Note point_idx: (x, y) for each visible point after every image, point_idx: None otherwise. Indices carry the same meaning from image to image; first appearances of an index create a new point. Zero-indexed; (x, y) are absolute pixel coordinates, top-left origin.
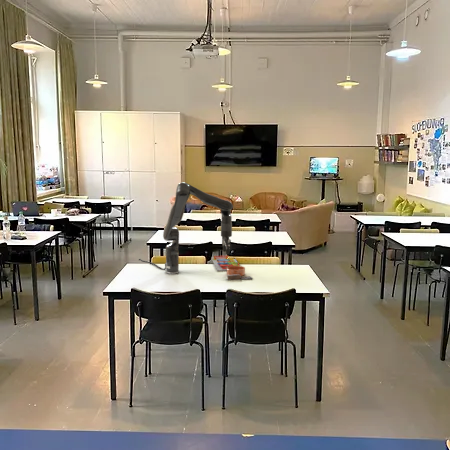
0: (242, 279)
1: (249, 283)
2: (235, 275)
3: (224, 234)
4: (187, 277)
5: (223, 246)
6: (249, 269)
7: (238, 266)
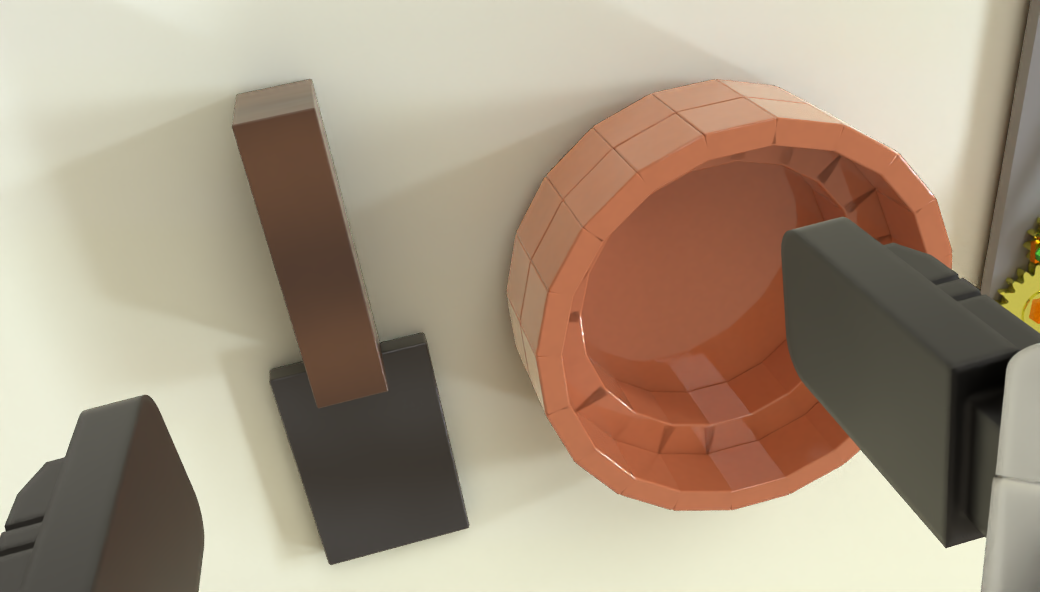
0: (275, 396)
1: (4, 517)
2: (284, 299)
3: None
4: None
5: (942, 372)
6: None
7: None
